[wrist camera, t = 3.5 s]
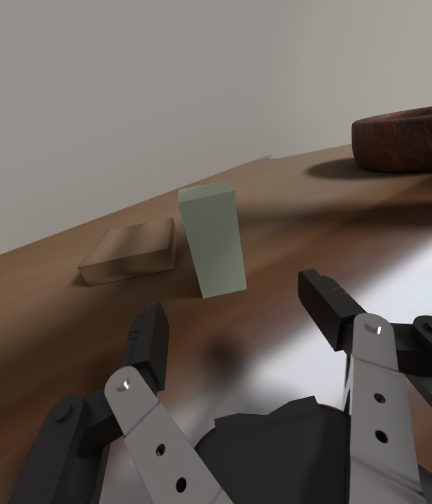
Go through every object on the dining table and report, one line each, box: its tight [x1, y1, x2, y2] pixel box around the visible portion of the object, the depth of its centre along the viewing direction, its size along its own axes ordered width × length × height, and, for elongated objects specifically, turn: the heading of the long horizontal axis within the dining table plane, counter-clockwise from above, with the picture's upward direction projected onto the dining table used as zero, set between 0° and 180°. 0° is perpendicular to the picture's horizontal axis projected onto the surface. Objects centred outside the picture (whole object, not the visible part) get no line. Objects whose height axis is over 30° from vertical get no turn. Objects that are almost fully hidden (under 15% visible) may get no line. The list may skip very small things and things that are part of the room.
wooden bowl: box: [352, 107, 432, 172], centre depth 48 cm, size 25×25×10 cm
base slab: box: [77, 217, 177, 287], centre depth 31 cm, size 11×11×3 cm
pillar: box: [178, 180, 247, 299], centre depth 21 cm, size 4×4×10 cm
